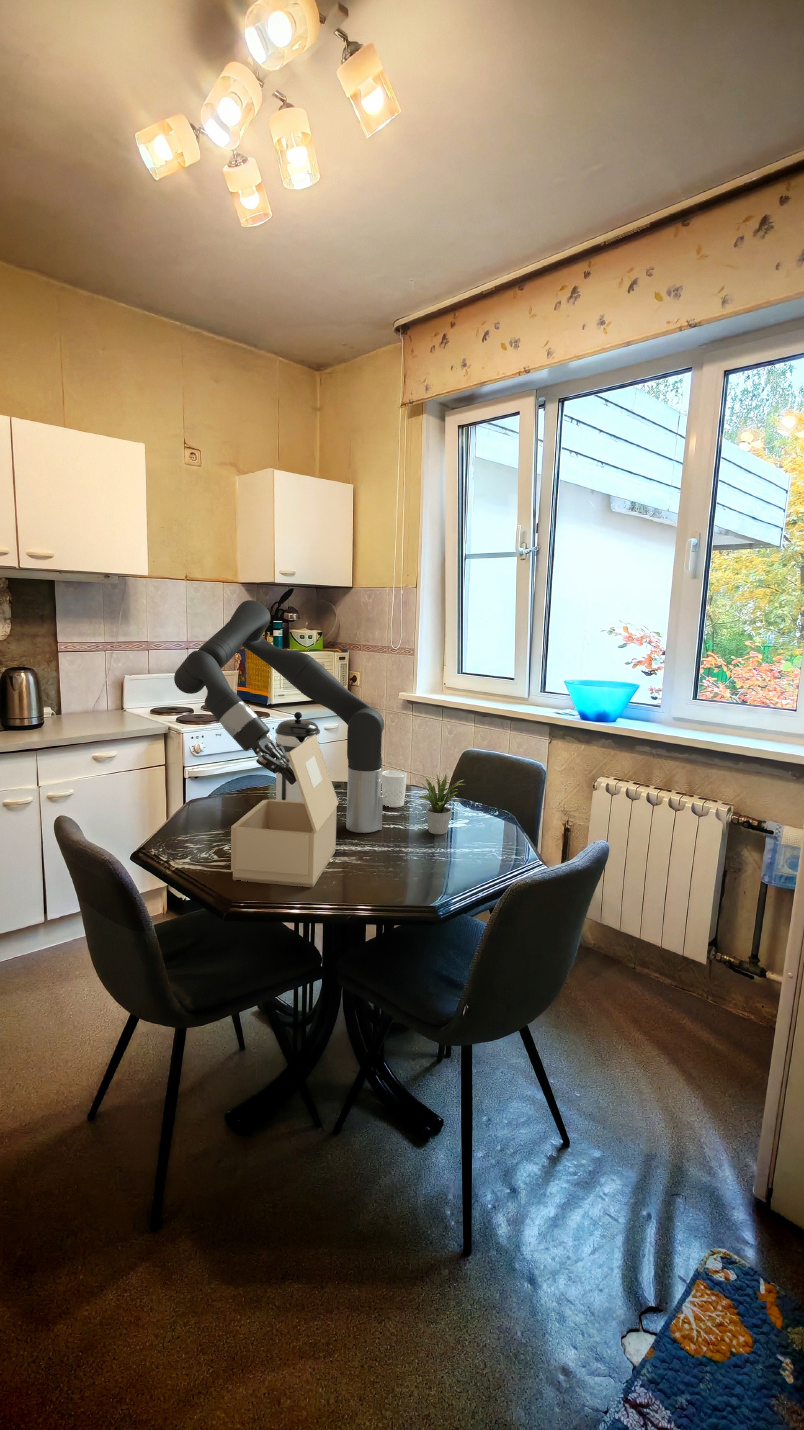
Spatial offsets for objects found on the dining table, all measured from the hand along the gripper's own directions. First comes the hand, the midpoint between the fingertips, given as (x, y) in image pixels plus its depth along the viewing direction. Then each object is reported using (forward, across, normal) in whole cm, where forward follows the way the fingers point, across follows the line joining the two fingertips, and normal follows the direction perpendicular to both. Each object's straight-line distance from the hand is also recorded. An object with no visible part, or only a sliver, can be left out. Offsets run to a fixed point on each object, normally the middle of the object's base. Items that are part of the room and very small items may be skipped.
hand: (295, 781), depth 149 cm
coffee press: (+6, -41, -23) cm, 47 cm away
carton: (+13, 0, -16) cm, 20 cm away
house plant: (+37, -31, +8) cm, 49 cm away
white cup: (+26, -55, -3) cm, 60 cm away
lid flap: (+3, 0, +3) cm, 4 cm away
